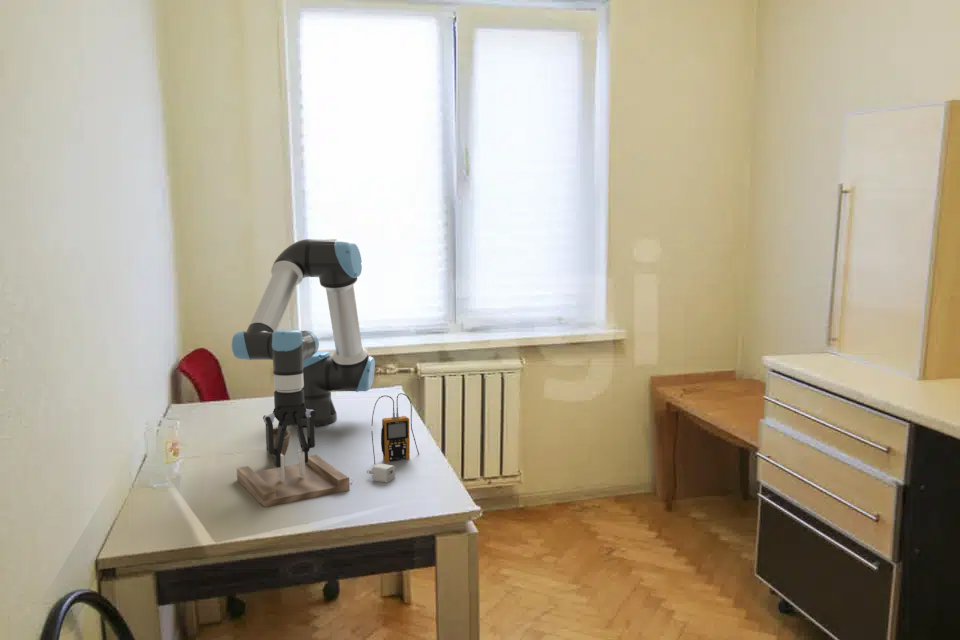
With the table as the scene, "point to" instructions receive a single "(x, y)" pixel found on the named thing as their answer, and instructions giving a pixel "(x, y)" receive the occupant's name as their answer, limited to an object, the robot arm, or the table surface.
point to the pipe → (285, 442)
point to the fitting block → (293, 482)
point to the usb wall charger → (383, 472)
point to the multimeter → (395, 436)
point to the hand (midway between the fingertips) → (291, 476)
